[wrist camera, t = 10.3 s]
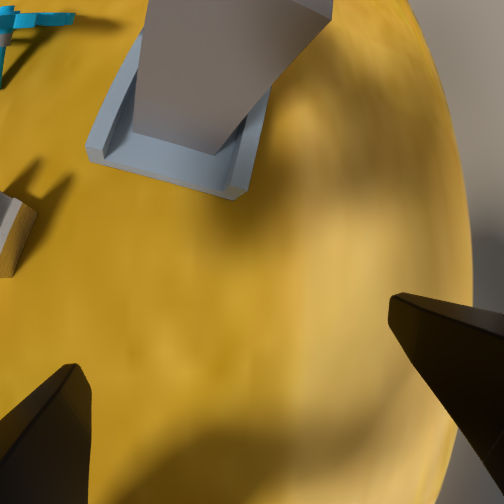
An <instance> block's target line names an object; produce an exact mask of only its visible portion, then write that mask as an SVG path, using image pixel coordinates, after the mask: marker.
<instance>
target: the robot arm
mask: <svg viewBox="0 0 504 504" xmlns="http://www.w3.org/2000/svg"><path fill="white" fill-rule="evenodd" d="M388 324H389V327H390V329H391V330H392V332H393V334H394V335H395V337H396V338H397V340H398V342H399V343H400V345H401V347H402V348H403V350H404V352H405V353H406V355H407V357H408V358H409V360H410V361H411V363H412V364H413V366H414V367H415V369H416V370H417V371H418V373H419V374H420V375H421V377H422V378H423V379H424V381H425V382H426V383H427V385H428V386H429V387H430V389H431V390H432V391H433V393H434V394H435V395H436V397H437V398H438V399H439V401H440V402H441V404H442V405H443V406H444V408H445V409H446V411H447V412H448V413H449V415H450V416H451V418H452V419H453V420H454V422H455V423H456V425H457V426H458V428H459V429H460V430H461V432H462V433H463V435H464V436H465V438H466V439H467V440H468V442H469V443H470V445H471V446H472V448H473V449H474V451H475V452H476V454H477V455H478V457H479V458H480V460H481V461H482V462H483V464H484V466H485V467H486V469H487V471H488V472H489V474H490V475H491V477H492V478H493V480H494V481H495V483H496V485H497V486H498V488H499V490H500V491H501V493H502V494H503V496H504V315H503V314H502V313H498V312H493V311H488V310H484V309H479V308H474V307H469V306H465V305H460V304H455V303H451V302H446V301H441V300H437V299H432V298H427V297H423V296H418V295H413V294H409V293H404V292H402V293H398V294H395V295H393V296H391V298H390V301H389V312H388ZM91 402H92V392H91V387H90V385H89V383H88V381H87V379H86V377H85V375H84V373H83V371H82V369H81V367H80V366H79V365H78V364H76V363H73V364H65V365H63V366H62V367H61V368H60V369H59V370H57V371H56V372H55V373H54V374H53V375H52V376H50V377H49V378H48V379H47V380H46V381H45V382H43V383H42V384H41V385H40V386H39V387H38V388H36V389H35V390H34V391H33V392H32V393H31V394H30V395H28V396H27V397H26V398H25V399H24V400H23V401H22V402H20V403H19V404H18V405H17V406H16V407H15V408H14V409H12V410H11V411H10V412H9V413H8V414H7V415H6V416H5V417H3V418H2V419H1V420H0V504H88V481H89V464H90V450H91Z"/></svg>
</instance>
